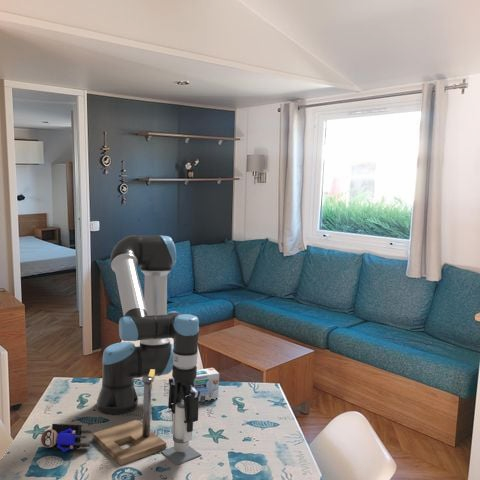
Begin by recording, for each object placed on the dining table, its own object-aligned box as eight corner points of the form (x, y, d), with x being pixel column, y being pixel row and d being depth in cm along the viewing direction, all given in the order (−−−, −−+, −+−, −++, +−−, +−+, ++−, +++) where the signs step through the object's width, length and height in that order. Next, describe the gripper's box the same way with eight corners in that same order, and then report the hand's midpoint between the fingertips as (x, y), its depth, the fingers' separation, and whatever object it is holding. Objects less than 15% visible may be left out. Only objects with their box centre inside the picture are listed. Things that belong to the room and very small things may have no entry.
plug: (169, 446, 154) (170, 402, 153) (183, 441, 158) (185, 398, 156) (178, 454, 150) (180, 409, 149) (193, 448, 154) (195, 404, 152)
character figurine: (87, 456, 151) (38, 454, 150) (94, 442, 158) (47, 440, 158) (87, 433, 149) (38, 431, 149) (94, 420, 156) (47, 418, 156)
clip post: (138, 435, 160) (140, 377, 158) (147, 432, 163) (149, 375, 161) (143, 440, 158) (146, 381, 156) (153, 437, 160) (155, 378, 158)
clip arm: (155, 377, 173) (156, 368, 173) (151, 392, 160) (152, 383, 160) (149, 377, 173) (149, 368, 173) (144, 392, 160) (144, 383, 160)
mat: (161, 452, 154) (161, 451, 154) (184, 443, 160) (184, 442, 160) (177, 465, 148) (177, 464, 148) (201, 455, 154) (201, 454, 154)
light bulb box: (194, 403, 191) (195, 376, 190) (187, 396, 197) (188, 370, 196) (218, 399, 196) (220, 373, 195) (211, 392, 202) (213, 367, 200)
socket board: (92, 439, 160) (93, 433, 160) (136, 425, 171) (136, 419, 171) (120, 465, 146) (121, 459, 146) (166, 448, 157) (166, 442, 157)
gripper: (158, 358, 155) (155, 428, 158) (192, 377, 142) (189, 453, 144) (177, 354, 160) (175, 421, 163) (212, 371, 147) (209, 445, 149)
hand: (181, 436), depth 154 cm, fingers closed on plug, 5 cm apart
